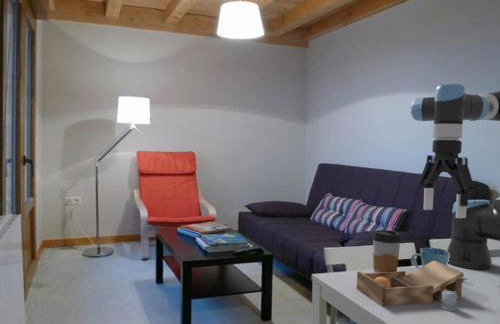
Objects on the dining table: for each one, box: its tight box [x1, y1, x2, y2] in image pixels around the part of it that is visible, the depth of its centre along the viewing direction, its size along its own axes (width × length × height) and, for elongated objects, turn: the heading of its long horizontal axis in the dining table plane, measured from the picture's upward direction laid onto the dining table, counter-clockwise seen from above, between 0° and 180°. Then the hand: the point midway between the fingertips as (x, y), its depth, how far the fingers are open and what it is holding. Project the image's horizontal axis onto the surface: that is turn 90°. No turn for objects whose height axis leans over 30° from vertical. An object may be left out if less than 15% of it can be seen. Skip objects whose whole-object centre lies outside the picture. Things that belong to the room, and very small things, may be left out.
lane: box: [356, 260, 465, 307], centre depth 122 cm, size 26×13×8 cm, turn 104°
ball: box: [374, 277, 391, 288], centre depth 120 cm, size 5×5×5 cm
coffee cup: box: [372, 229, 402, 273], centre depth 133 cm, size 8×8×15 cm
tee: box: [440, 290, 458, 312], centre depth 113 cm, size 4×4×4 cm
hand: (443, 213), depth 125 cm, fingers open, 13 cm apart
